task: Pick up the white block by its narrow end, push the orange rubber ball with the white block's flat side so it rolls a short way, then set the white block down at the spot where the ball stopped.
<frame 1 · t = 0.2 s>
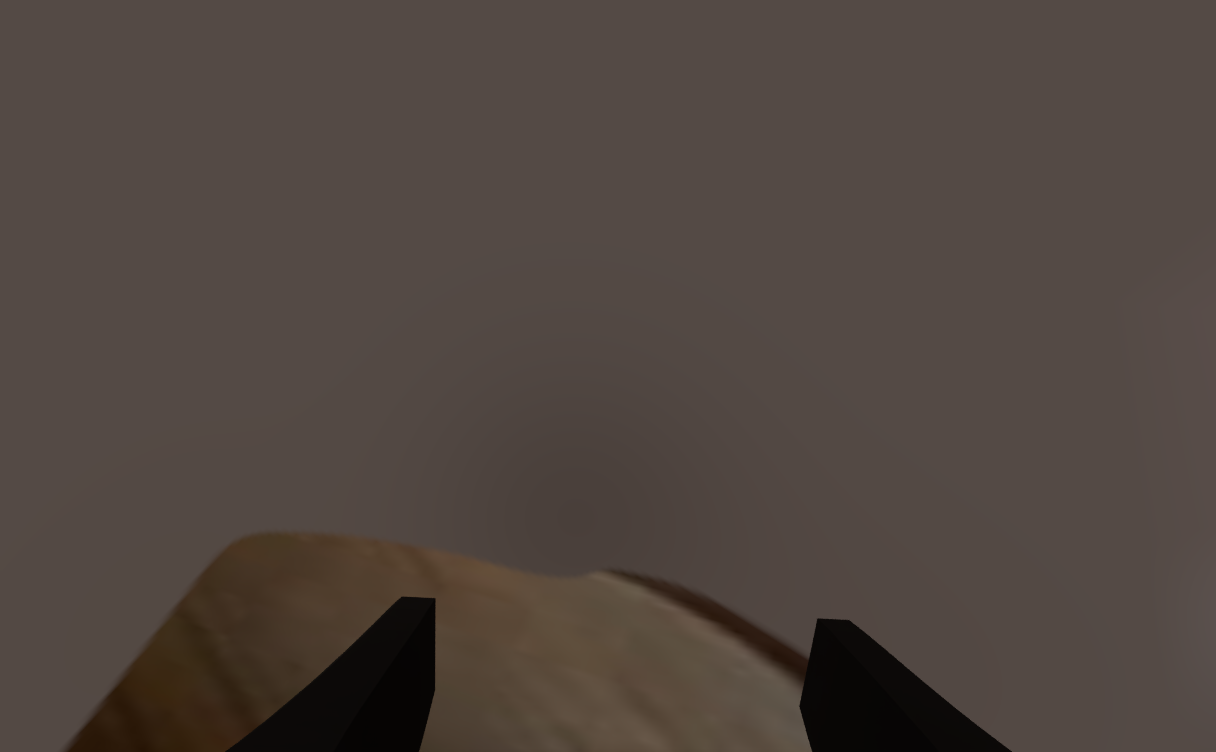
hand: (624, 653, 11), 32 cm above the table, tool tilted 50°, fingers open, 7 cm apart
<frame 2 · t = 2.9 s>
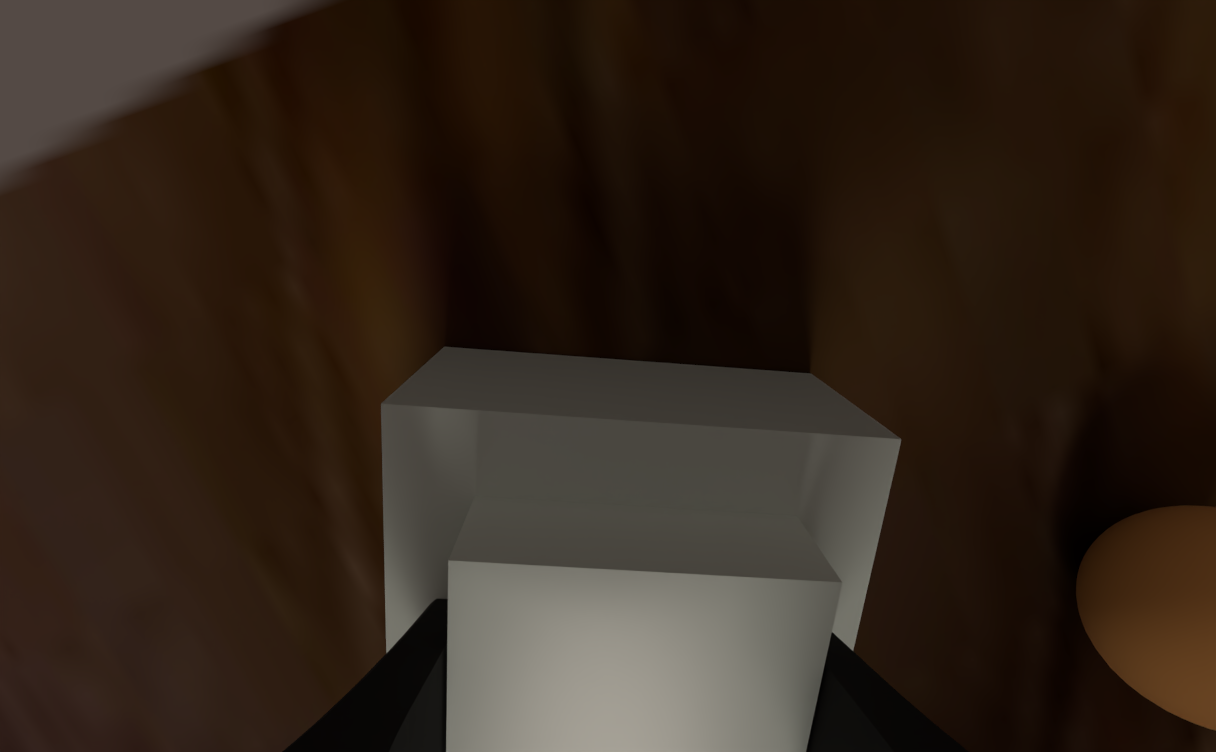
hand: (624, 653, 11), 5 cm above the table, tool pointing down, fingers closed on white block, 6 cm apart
ball: (1212, 614, 14), on the table
white block: (614, 525, 16), on the table, touching gripper
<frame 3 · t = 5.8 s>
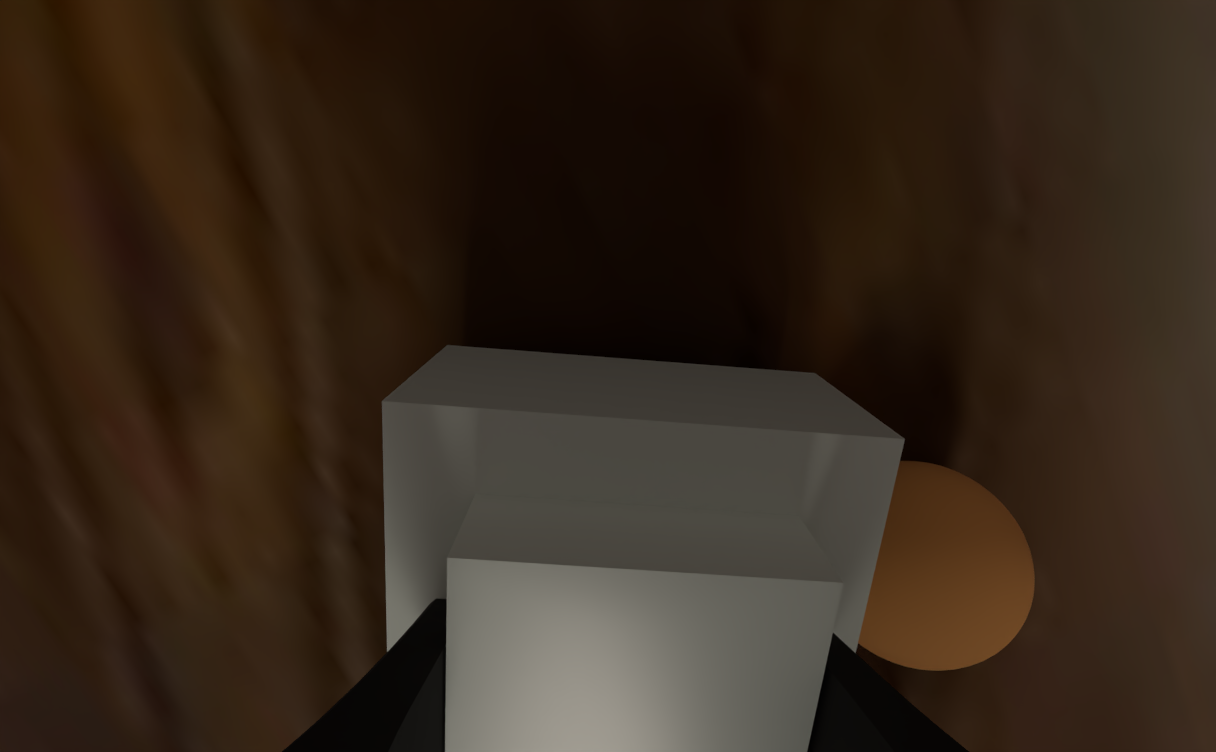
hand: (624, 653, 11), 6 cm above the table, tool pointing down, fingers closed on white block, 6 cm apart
ball: (912, 560, 15), on the table
white block: (617, 524, 15), point 1 cm above the table, touching gripper
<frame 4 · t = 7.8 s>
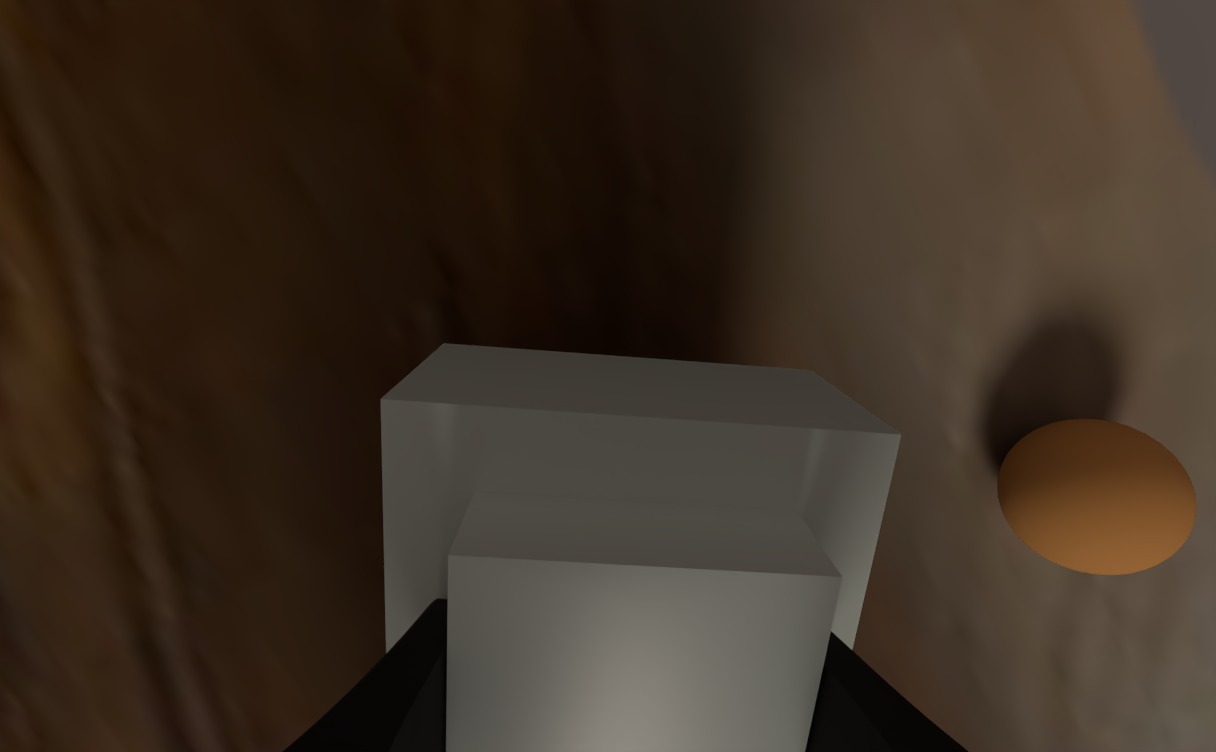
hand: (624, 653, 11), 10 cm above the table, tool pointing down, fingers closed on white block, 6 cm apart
ball: (1088, 494, 19), on the table
white block: (614, 522, 15), point 6 cm above the table, touching gripper
when the fingers open (5 cm above the table, at t = 12.3 s): white block stays where it is, on the table.
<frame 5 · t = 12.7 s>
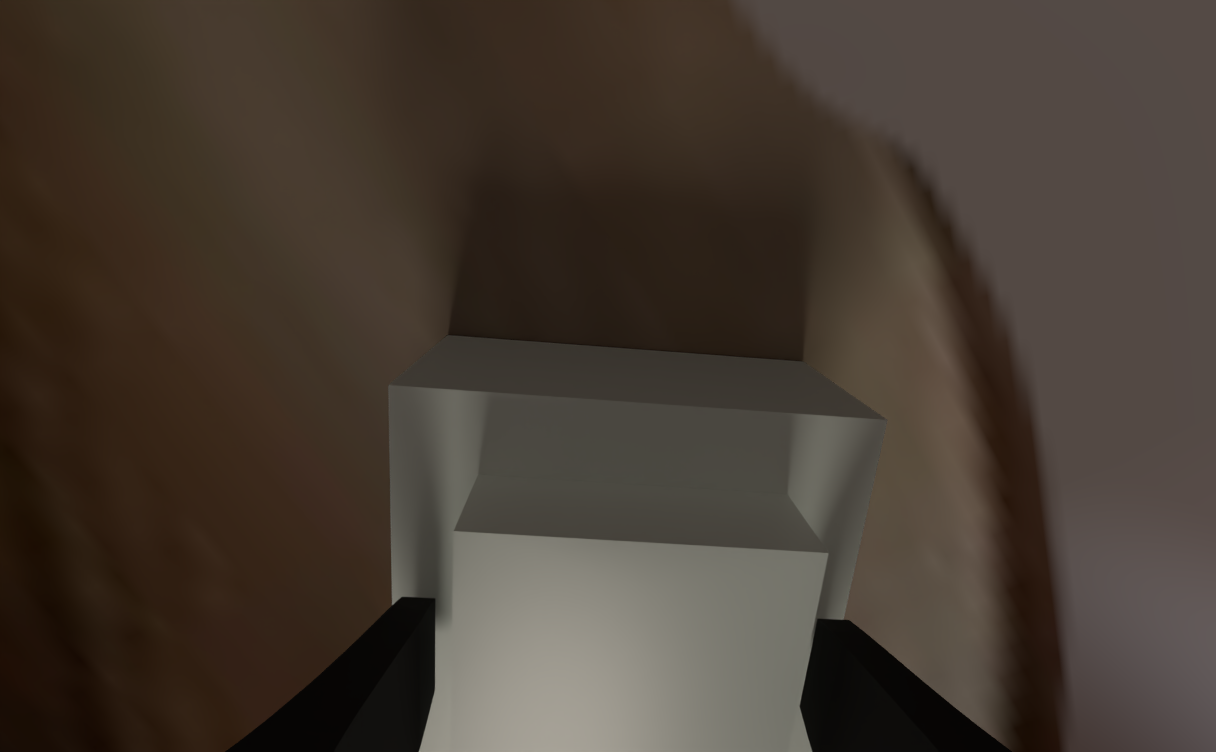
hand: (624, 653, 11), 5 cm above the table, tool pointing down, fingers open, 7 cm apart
white block: (613, 509, 16), on the table
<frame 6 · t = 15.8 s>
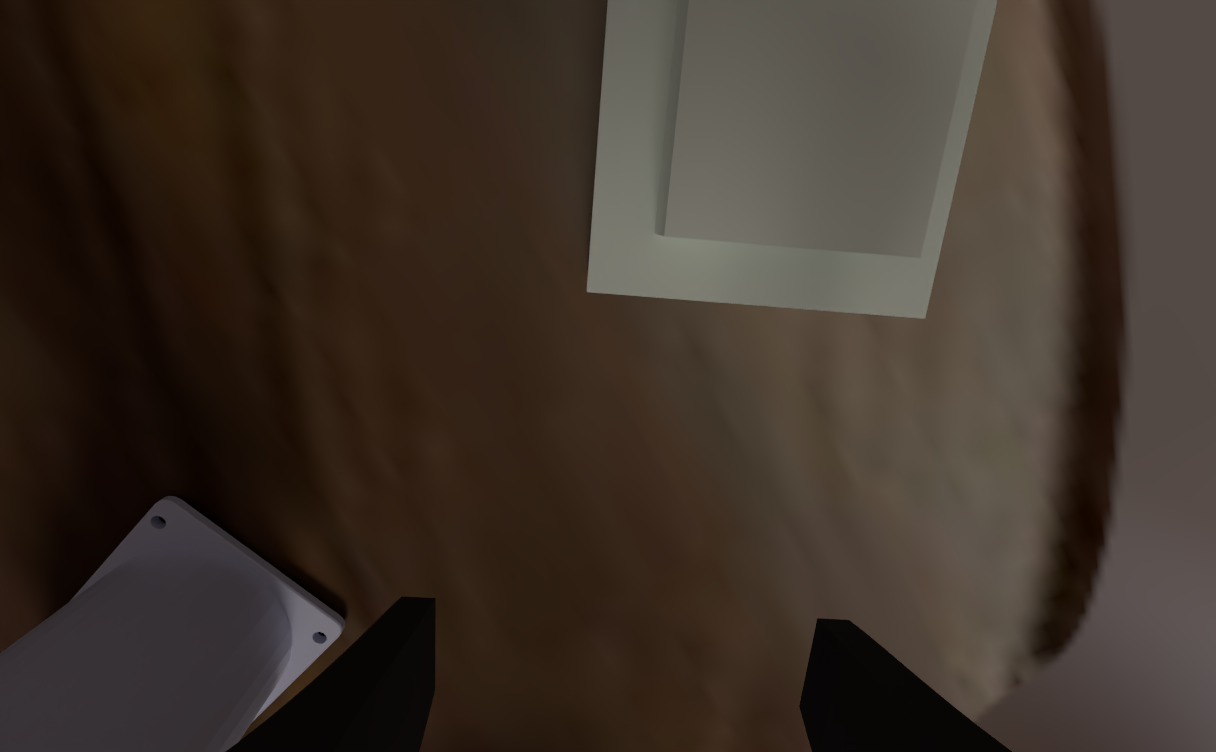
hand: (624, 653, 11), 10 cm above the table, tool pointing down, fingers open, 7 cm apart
white block: (741, 141, 18), on the table
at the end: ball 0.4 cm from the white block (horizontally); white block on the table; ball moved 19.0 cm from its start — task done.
